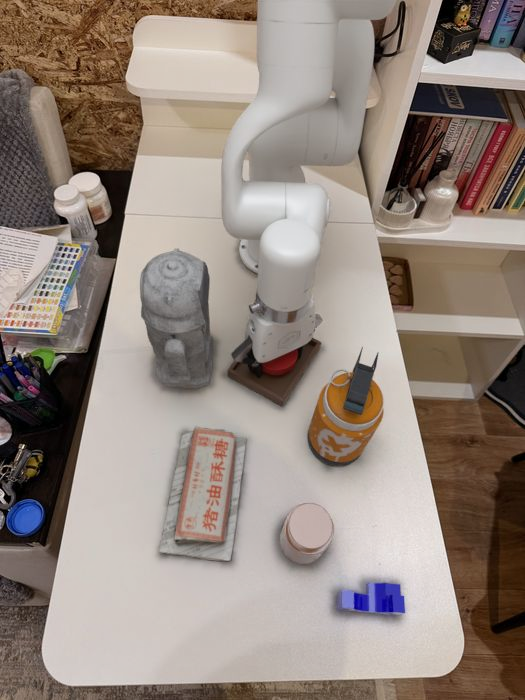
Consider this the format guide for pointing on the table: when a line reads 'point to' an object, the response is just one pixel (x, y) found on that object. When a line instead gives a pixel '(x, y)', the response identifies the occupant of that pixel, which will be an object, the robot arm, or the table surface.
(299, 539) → the jar
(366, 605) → the cable holder
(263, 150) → the robot arm
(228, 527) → the packaged product
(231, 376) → the tray
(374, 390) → the canister
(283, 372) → the lid
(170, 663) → the table surface
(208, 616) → the table surface
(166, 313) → the figurine
